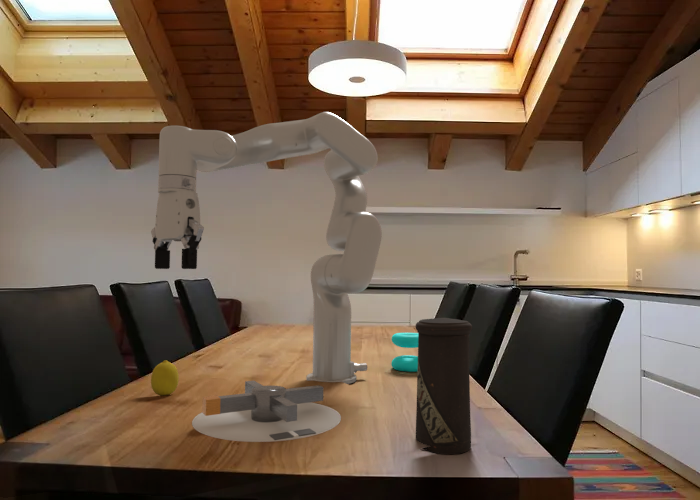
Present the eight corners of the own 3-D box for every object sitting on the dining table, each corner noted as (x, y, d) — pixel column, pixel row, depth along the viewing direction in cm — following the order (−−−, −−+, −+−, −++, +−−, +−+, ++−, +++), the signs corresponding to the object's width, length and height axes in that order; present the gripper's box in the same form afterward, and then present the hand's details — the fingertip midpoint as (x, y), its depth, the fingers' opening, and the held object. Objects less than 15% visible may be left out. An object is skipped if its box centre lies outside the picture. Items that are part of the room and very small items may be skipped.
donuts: (428, 332, 148) (425, 336, 139) (427, 367, 148) (425, 373, 138) (394, 331, 150) (389, 335, 141) (393, 365, 150) (389, 371, 140)
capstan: (298, 398, 105) (298, 373, 105) (348, 424, 86) (348, 395, 87) (189, 411, 94) (190, 384, 94) (221, 445, 76) (221, 411, 76)
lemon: (169, 402, 104) (170, 363, 104) (144, 400, 105) (146, 361, 105) (183, 396, 109) (184, 358, 110) (159, 394, 110) (161, 357, 111)
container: (409, 437, 83) (410, 315, 84) (463, 436, 84) (463, 315, 85) (421, 456, 75) (422, 320, 76) (480, 455, 76) (480, 320, 76)
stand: (304, 399, 108) (304, 393, 108) (368, 432, 85) (368, 425, 86) (177, 414, 95) (178, 407, 95) (214, 459, 73) (214, 450, 73)
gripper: (218, 185, 103) (216, 269, 102) (170, 193, 114) (168, 269, 113) (185, 179, 97) (183, 268, 97) (138, 188, 108) (136, 268, 107)
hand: (175, 268), depth 105 cm, fingers open, 9 cm apart
